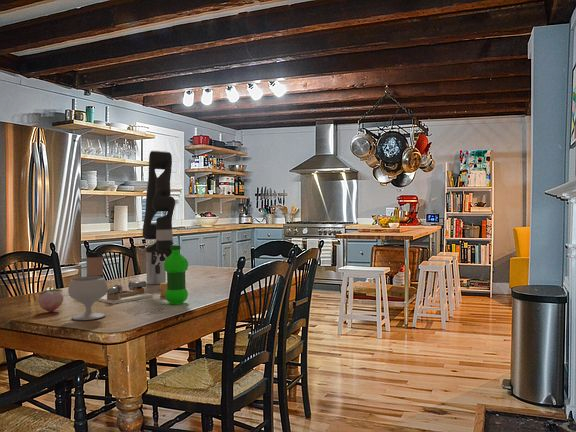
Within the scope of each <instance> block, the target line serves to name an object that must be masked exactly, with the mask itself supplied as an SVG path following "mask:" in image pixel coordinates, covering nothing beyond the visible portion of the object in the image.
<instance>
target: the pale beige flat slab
mask: <svg viewBox="0 0 576 432" xmlns="http://www.w3.org/2000/svg"><path fill="white" fill-rule="evenodd" d="M153 297H154V295H153V294H151V293H147V292H144V293H142V294H136V293H135V292H133V290H122V292H121V299H119V300H107V294H105V295H104V296H103V297H102V298H100V299H98V300H97V302H103V303H108V304H119V303H127V302H131V301H138V299H139V300H143V299H144V300H145V299H150V298H153Z"/></svg>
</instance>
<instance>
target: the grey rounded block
mask: <svg viewBox="0 0 576 432" xmlns="http://www.w3.org/2000/svg"><path fill="white" fill-rule="evenodd" d="M122 291H123V286H122V285H121V284H114V286H113V287H111V288H108V290H107V293H106V295H107V300H119V299H121V292H122Z"/></svg>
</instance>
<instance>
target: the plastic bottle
mask: <svg viewBox="0 0 576 432" xmlns="http://www.w3.org/2000/svg"><path fill="white" fill-rule="evenodd" d="M181 246H182V245H181V244H173V245H171V250H172V254H171V255H170V256H168V257H167V258H166V259H165V261H164V269H165V272H166V283H167V290H166V293H165V297H164V298H165V299H166V301H167V302H168V303H169V304H170V305H176V306H177V305H182V304H184V302H186V300H188V297H189V292H188V290H187V288H186V284H187V283H186V271H187V270H188V268H189V262H188V259H187V258H186V257H184V255H182V254H181V253H180V251H181Z"/></svg>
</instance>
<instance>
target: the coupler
mask: <svg viewBox="0 0 576 432" xmlns="http://www.w3.org/2000/svg"><path fill="white" fill-rule="evenodd" d="M166 290H167V282H166V283H160V284H159V291H160V292H159V295H160V296H159V297H160V298H166V297H165V293H166Z"/></svg>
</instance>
